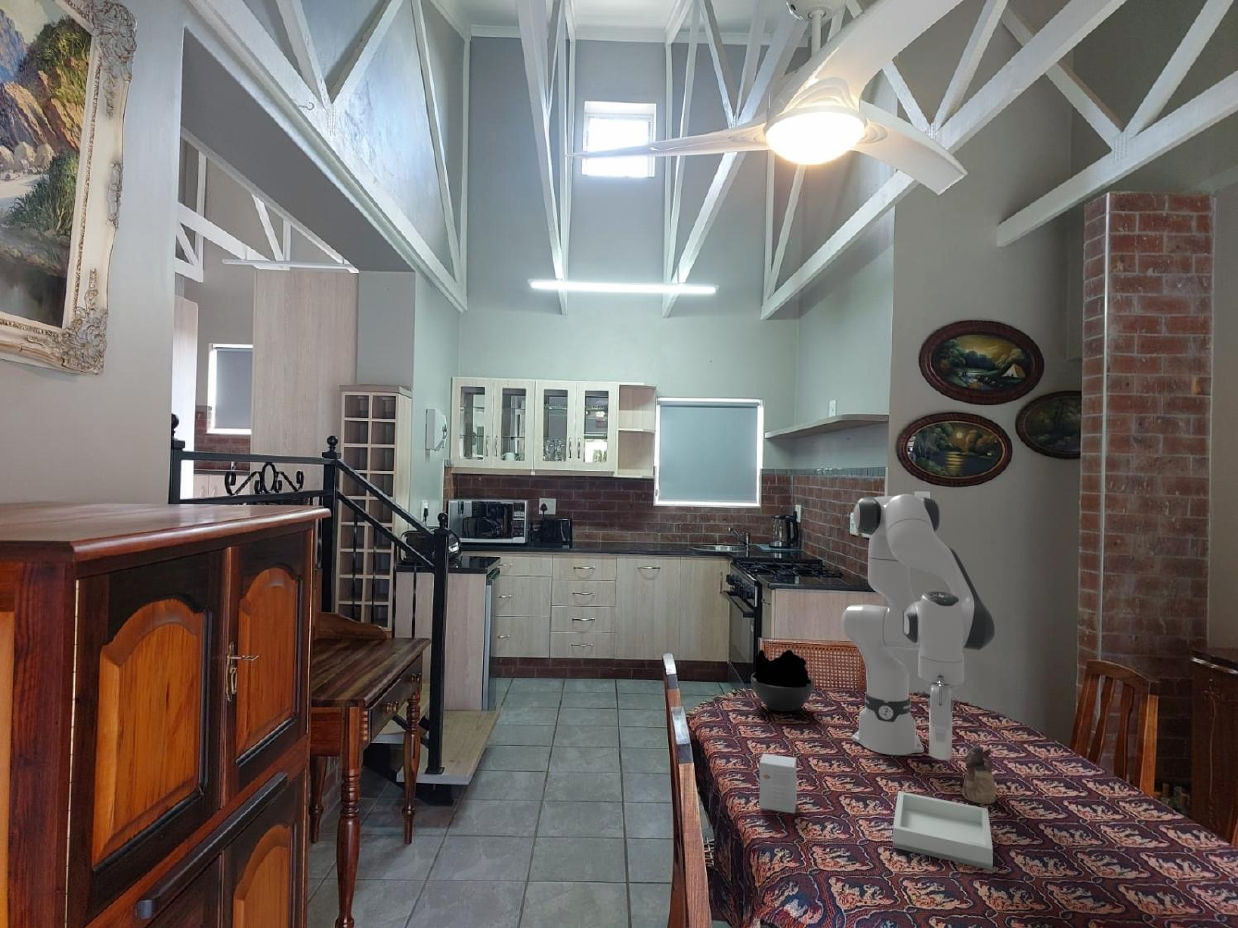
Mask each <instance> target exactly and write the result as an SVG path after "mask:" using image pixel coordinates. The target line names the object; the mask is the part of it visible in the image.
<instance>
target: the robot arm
mask: <svg viewBox="0 0 1238 928" xmlns="http://www.w3.org/2000/svg"><path fill="white" fill-rule="evenodd" d="M852 518H853V522H854V524H855V528H856V529H857V530H858V531H859V532H860V533H861V534H865V535H868V536H869V542H868V549H867V551H868V552H867V553H868V554H867V557H868V558H867V582H868V585H869V586H870V588H871V589H873V591H875V592H876V593H877V594H879V595H881V596H883V597H884V598H885V600H887V602H888V605H889V606H884V605H883V606H882V605H874V604H867V603H866V604H852V605H848V607H846V608H845V610H844V611H843V613H842V615H841V619H840V623H841V629H842V632H843V633H844V635H845V636H846V638H848V639H849V640H850V642H852V643H853V644H854V645H855V646H856V648H857V650H859V652H860V654H861V657H862V659H863V663H864V666H865V672H866V675H865V677H866V691H865V692H864V693H865V695H864V705H865V707H864V708H863V709H862V710H861V711H859V718H858V724H859V725H858V730H857V731H856V732H855V733H854V734H853V735H852V736H851V740H852V741H854V742H856V743H858V744H860V745H861V746H863V747H864V748H866V749H868V750H870V751H872V752H874V753H875V752H877V753H879V754H885V755H888V756H889V755H890V756H891V755H892V756H905V755H906V756H907V755H910V754H914V753H917V754H919V753H924V752H925V747H924V746H923V743H922V742H921V739H920V737H919V735H918V731H917V727H916V726H917V722H916V720H915V718H914V717H913V715H912V713H911V706H912V703H911V698H910V696H909V695H910V694H909V691H910V689H909V688H910V687H909V686H910V683H909V682H910V681H909V680H910V674H909V670H908V668H907V666H905V664H904V663H903V662H901V661H900V660H898V659H897V658H895V657H894V656H893V655H892V654H891V653H890V652H889V650H888V647H889V648H896V649H902V650H909V651H918V656H917V658H918V659H917V666H918V667H917V668H918V669H917V673H918V674H917V675H918V678H920V679H921V680H923V681H924V686H926V688H929V689H930V697H929V698H930V723H931V726H932V727H935V731H936V741H938V742H945V732H946V729H950V717H951V700H952V698H951V696H952V692H953V691H956V690H957V689H958V685H961V684H963V683H964V681H965V655H964V652H963V649H969V650H975V651H979V650H980V651H981V650H982V649H983V648H985V647H986V646H988V645H989V644H990V643H991V642H992V640H993V639H994V637H995V634H996V633H995V631H996V629H995V623H994V619H993V616H992V614H991V613H990V611H989V610H988V608H987V607H986V606H985V604H984V603H983V601H982V600H981V598H980V597H979V594H978V592H977V591H976V588H975V586H974V585H973V583H972V580H971V578H970V576H969V574H968V572H967V570H966V569H965V566H964V565H963V563H962V561H961V559H960V558H959V555H958V554H957V553H956V551H955V550H954V549H953V548H952V547H950V546H947V545H946V544H945V543H944V542H943V541H942V540H941V539H940V538H939V536H938V535H937V534H936V533H935V532H937V531H938V529H939V526H940V522H941V512H940V507H939V504H938V502H936V501H935V500H934V499H932V498H929V497H925V496H920V497H918V496H916V495H914V494H909V493H902V494H898V495H895V496H893V495H883V496H882V495H881V496H875V497H874V496H872V495H871V496H864V497H861V498H860V499H859V500H857V501H856V503H855V506H854V509H853V517H852ZM910 568H912V569H916V570H919V571H923V572H925V573H929V574H931V575H934V576H936V577H938V578H940V579H941V580H943V581H944V582H945V583H946V585H947V586H948V588H949V590H950V591H949V592H950V593H949V592H945V591H937V590H936V591H927V592H925V593H923V594H922V595H921V597H920V600H919V601H917V598H916V597H915V594H914V592H913V589H912V583H911V569H910ZM940 705H942V706H940Z"/></svg>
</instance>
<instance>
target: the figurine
mask: <svg viewBox="0 0 1238 928" xmlns="http://www.w3.org/2000/svg"><path fill="white" fill-rule="evenodd" d="M992 753H993V751H992V750H991V748H987V749H986V750H983V747H981V746H980V745H976V746H973V747H972V748H970V749H969V750H968V751H967V754H966V756H964V759H963V760H964V761H965V766H964V768H965V769H966V771H965V774H964V781H963V785H962V791H961V792H962V793H961V794H962V796H963V797H964V798H965V799H966V800H967V801H971V802H973V803H976V804H983V805H985V804H986V805H988V804H990V805H991V804H994V803H995V801H996V798H997V791H996V783H995V779H994V775H993V772H992V771H993V767H994V762H993V759H992V758H991V756H989V755H991V754H992ZM986 763H988V764H989V766H988V765H987V764H986Z"/></svg>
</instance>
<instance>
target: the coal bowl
mask: <svg viewBox="0 0 1238 928" xmlns="http://www.w3.org/2000/svg"><path fill="white" fill-rule="evenodd" d="M755 662H756V663H755V672H754V673H753V674H751V676H750V682H751V687H752V689H753V692H754V694H755V696H756V697H757V699H758V700H759V701H761V703H763V704H764V705H765V706H766V707H768V708H770V709H772V710H774V711H776V712H792V711H795V710H798V709H800V708H801V707H802V706H803V705H805V704H806V703H807V702H808V701H809V699H810V697H811V696H812V694H813V691H814V688H815V687H814V686H815V681H814V679H813V678H812V677H810V676H809V675H808V674H809V670H807V668H806V664H807V661H806V660H805V659H804V658H803V657H801V656H799V655H797V654H795V653H794V652H793V650H792V649H787V650H786V651H784V652H782V653H781V655H780V656H779V657H775V658H773V659H772V660H769V658H767V657H766V655H765V651H764V649H760V650H759V651H758V654H757V655H756V657H755Z"/></svg>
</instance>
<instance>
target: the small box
mask: <svg viewBox="0 0 1238 928" xmlns="http://www.w3.org/2000/svg"><path fill="white" fill-rule="evenodd" d="M797 771H798V770H797V757H792V756H791V757H790V756H783V755H776V754H768V753H762V754H761V758H760V761H759V808H760V809H765V810H769V811H775V812H776V811H777V812H783V813H789V814H796V808H797V804H798V803H797V802H798V798H797V797H798V793H797V790H798V789H797V787H798V786H797V776H798V775H797Z"/></svg>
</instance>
